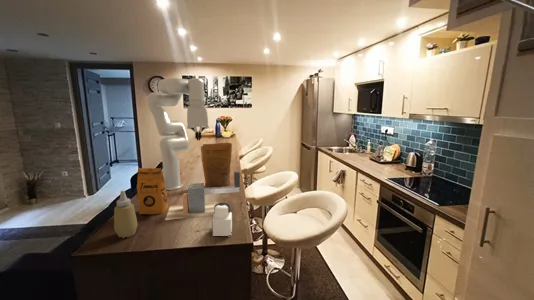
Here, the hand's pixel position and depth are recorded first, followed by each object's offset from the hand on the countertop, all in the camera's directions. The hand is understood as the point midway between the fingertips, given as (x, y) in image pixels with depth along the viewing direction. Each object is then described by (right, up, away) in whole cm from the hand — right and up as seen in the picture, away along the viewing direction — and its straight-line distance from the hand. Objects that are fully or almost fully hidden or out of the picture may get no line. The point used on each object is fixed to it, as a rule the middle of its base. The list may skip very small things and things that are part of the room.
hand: (198, 140), depth 127 cm
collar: (-3, -34, -9) cm, 36 cm away
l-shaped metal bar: (+12, -26, -7) cm, 29 cm away
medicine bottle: (+17, -39, -28) cm, 51 cm away
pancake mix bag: (+4, -28, +31) cm, 42 cm away
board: (0, -35, -8) cm, 36 cm away
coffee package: (-19, -35, -9) cm, 41 cm away
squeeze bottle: (-20, -39, -30) cm, 53 cm away
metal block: (+2, -34, -8) cm, 35 cm away
